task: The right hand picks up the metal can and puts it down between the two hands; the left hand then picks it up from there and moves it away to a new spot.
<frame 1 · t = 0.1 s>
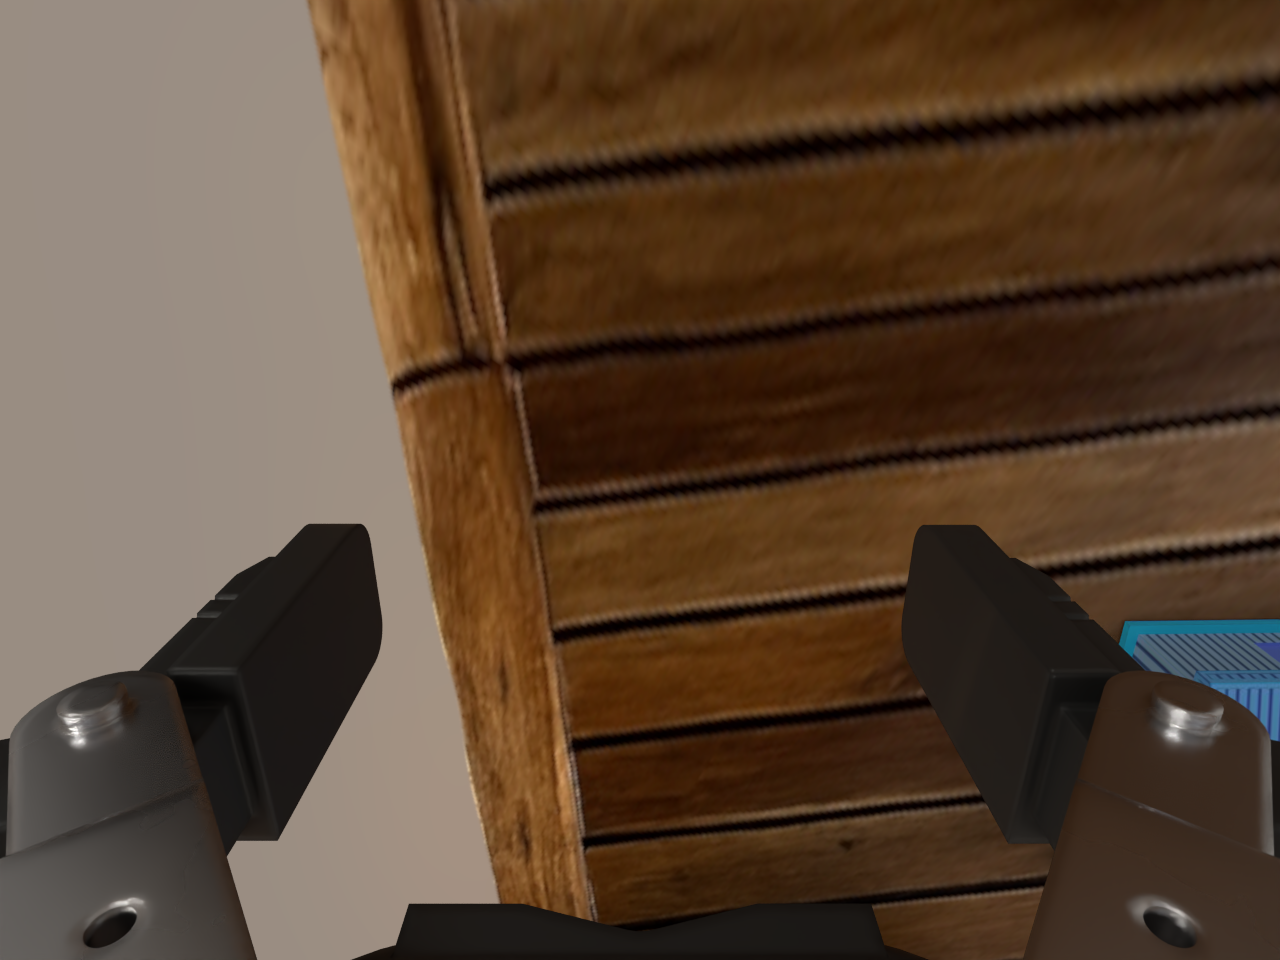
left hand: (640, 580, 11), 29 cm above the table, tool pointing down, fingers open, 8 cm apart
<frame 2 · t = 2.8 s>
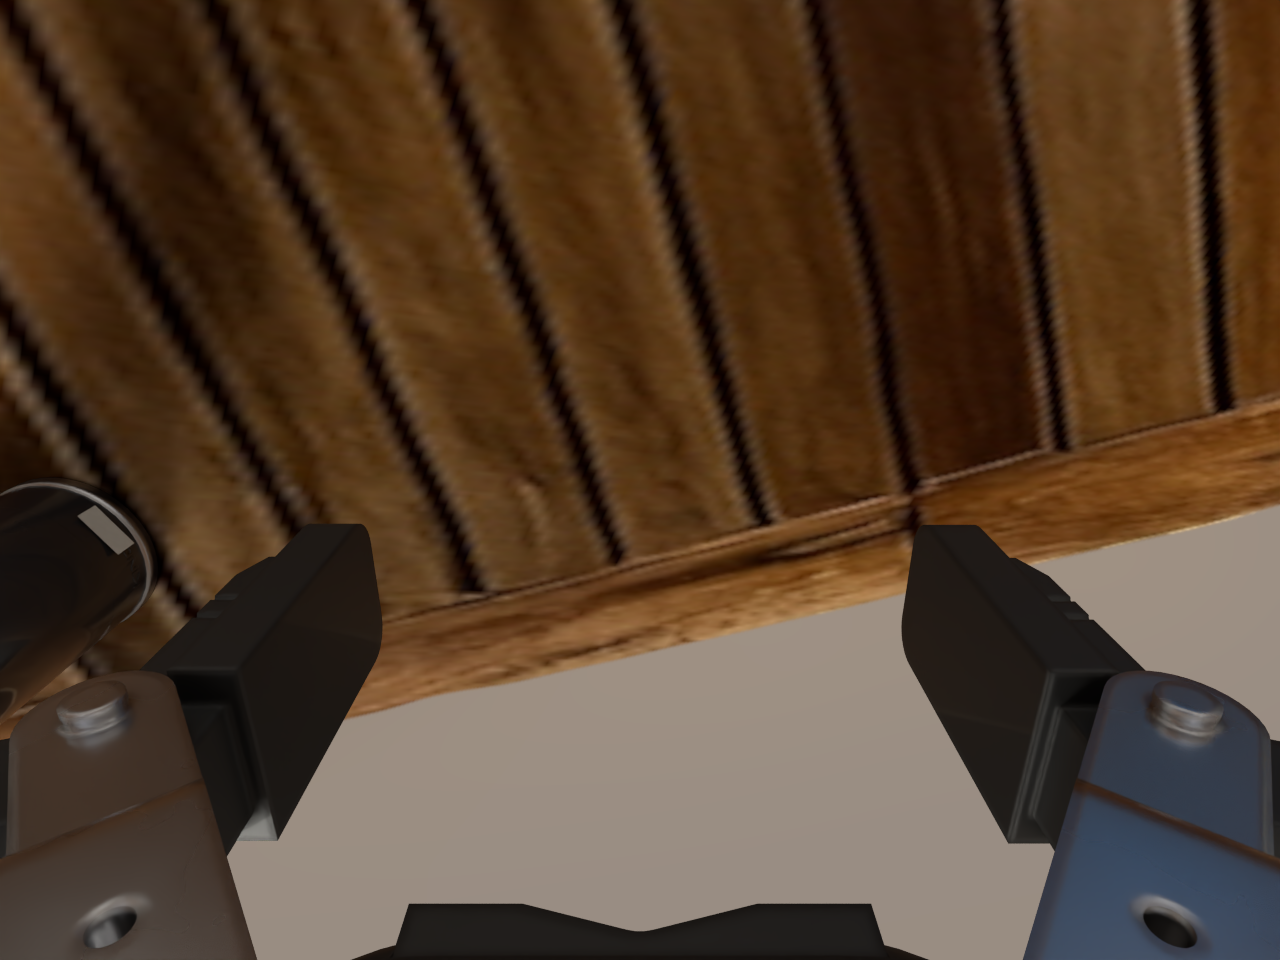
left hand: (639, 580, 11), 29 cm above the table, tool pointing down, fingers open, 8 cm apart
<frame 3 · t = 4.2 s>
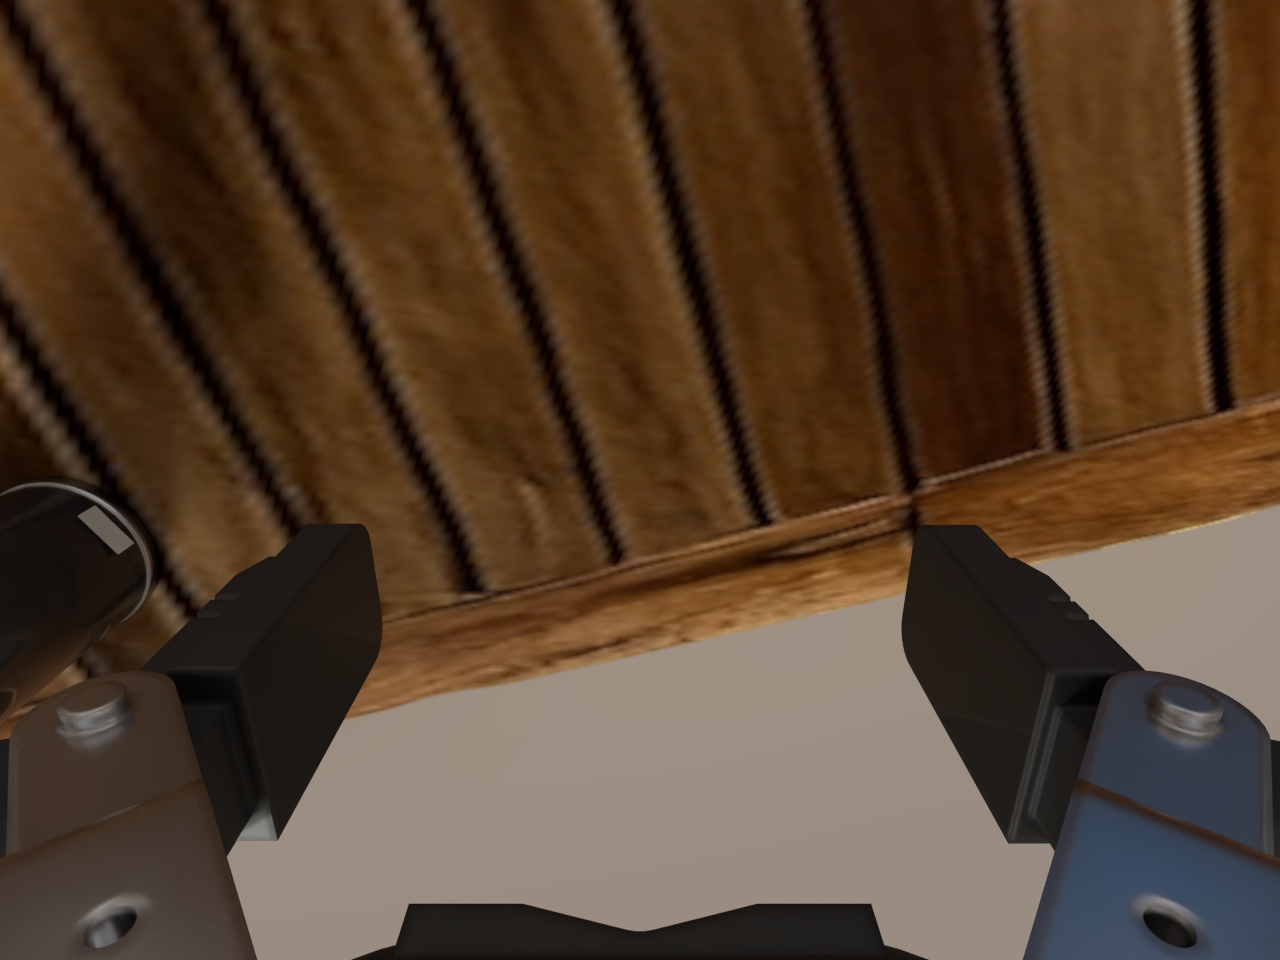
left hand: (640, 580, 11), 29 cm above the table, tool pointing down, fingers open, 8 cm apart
when the right hand's fingers open (8 cm above the table, at t = 5.7 s): can drops 2 cm, on the table.
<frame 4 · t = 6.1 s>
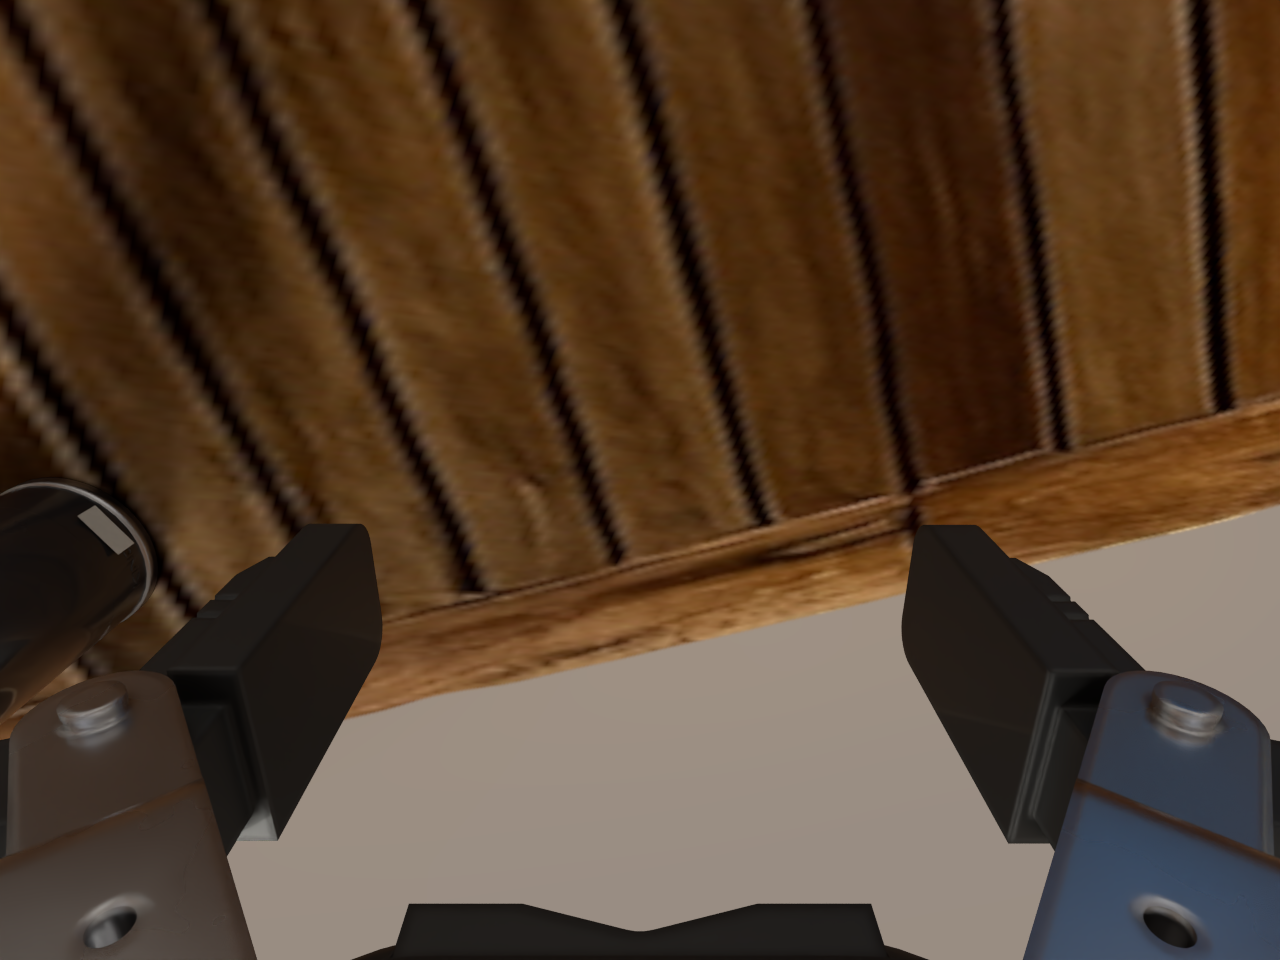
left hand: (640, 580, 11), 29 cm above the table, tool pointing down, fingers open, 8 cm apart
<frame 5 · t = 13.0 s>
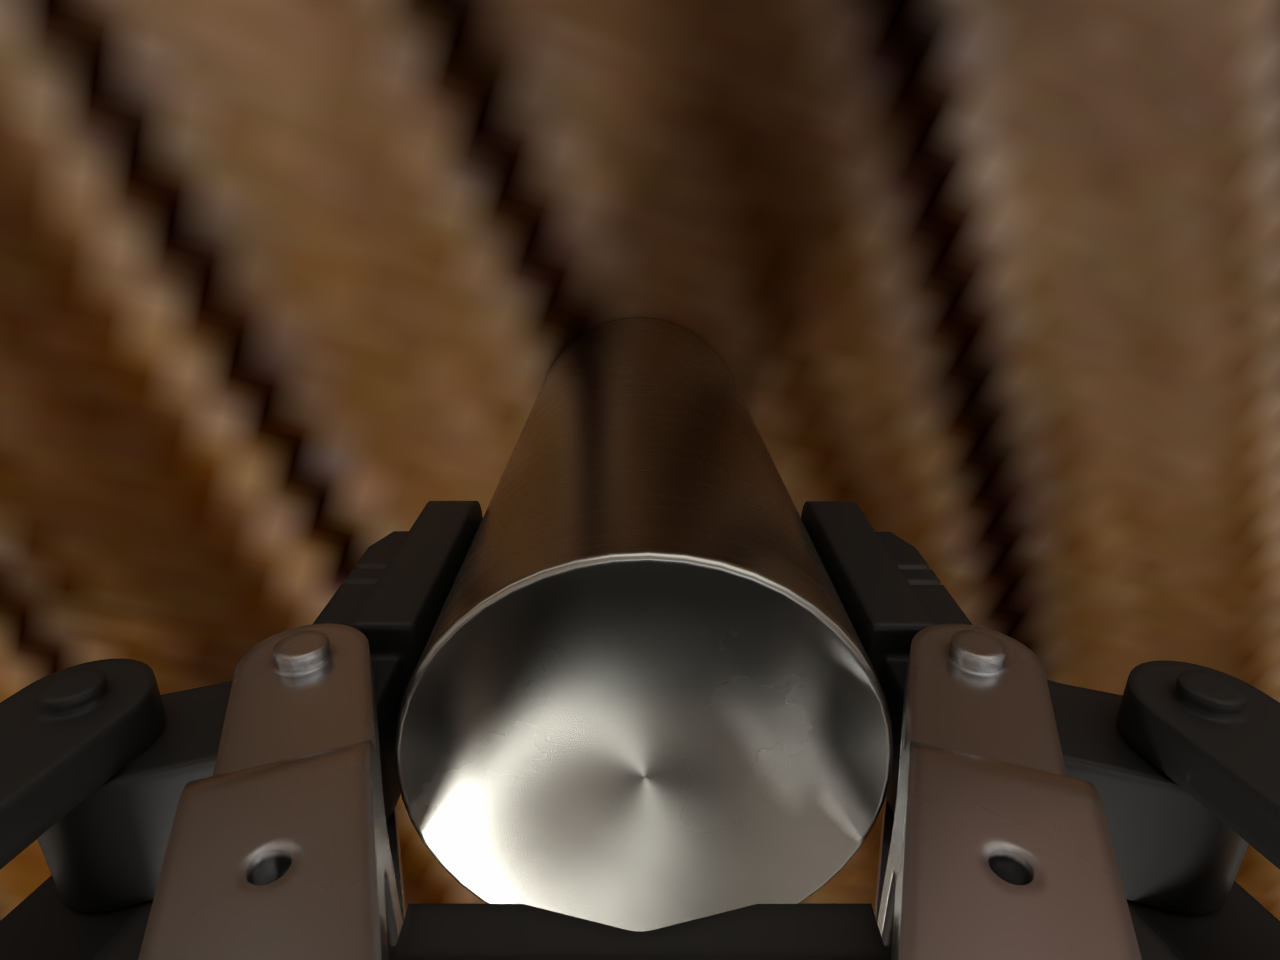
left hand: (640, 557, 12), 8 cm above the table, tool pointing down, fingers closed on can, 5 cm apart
can: (639, 417, 19), on the table, touching left hand
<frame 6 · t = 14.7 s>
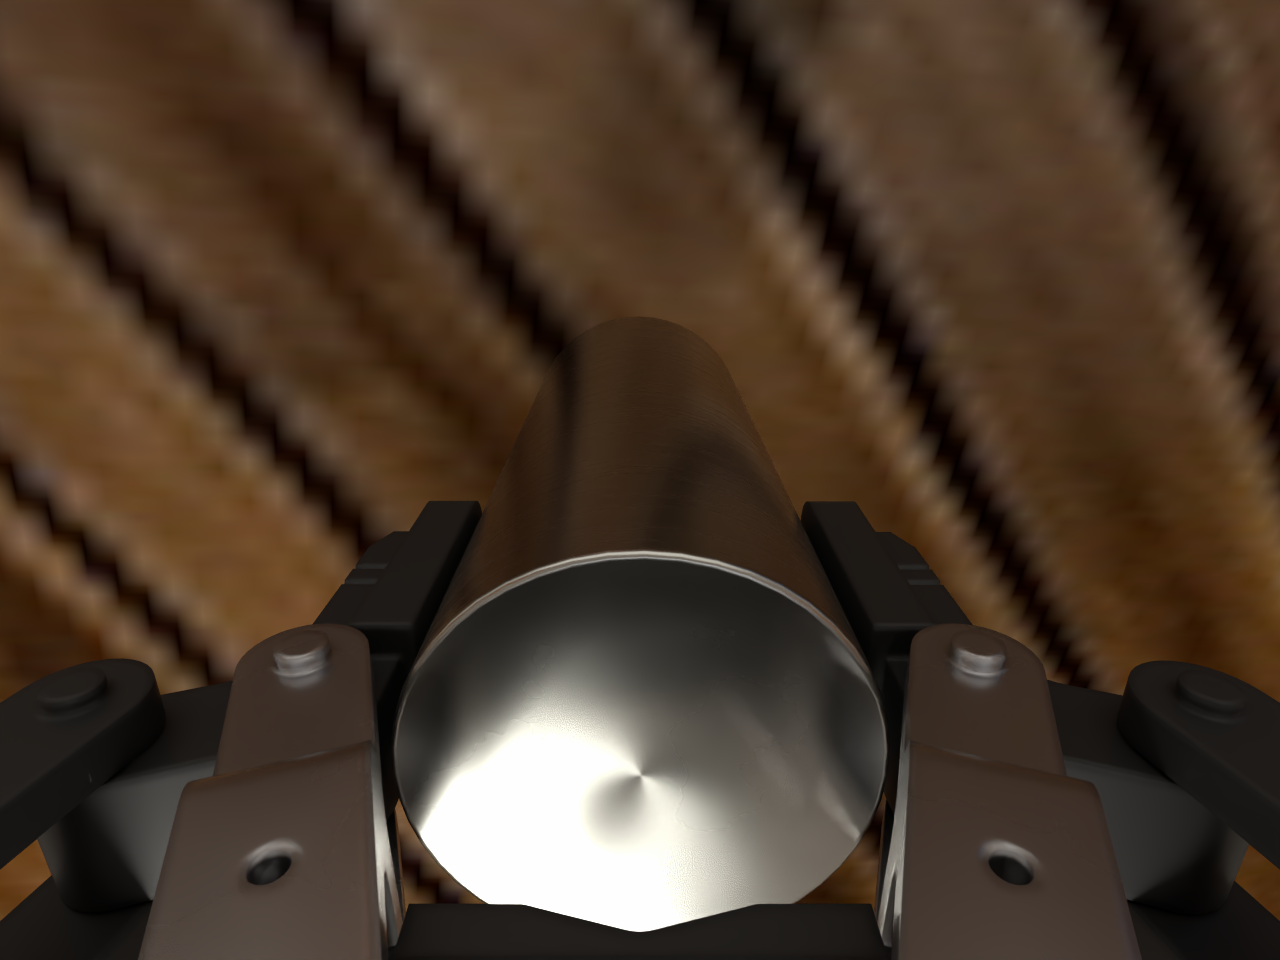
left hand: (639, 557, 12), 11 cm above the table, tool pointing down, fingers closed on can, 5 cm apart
can: (638, 416, 19), point 4 cm above the table, touching left hand
when the left hand's fingers open (9 cm above the table, at t = 16.4 s): can drops 2 cm, on the table.
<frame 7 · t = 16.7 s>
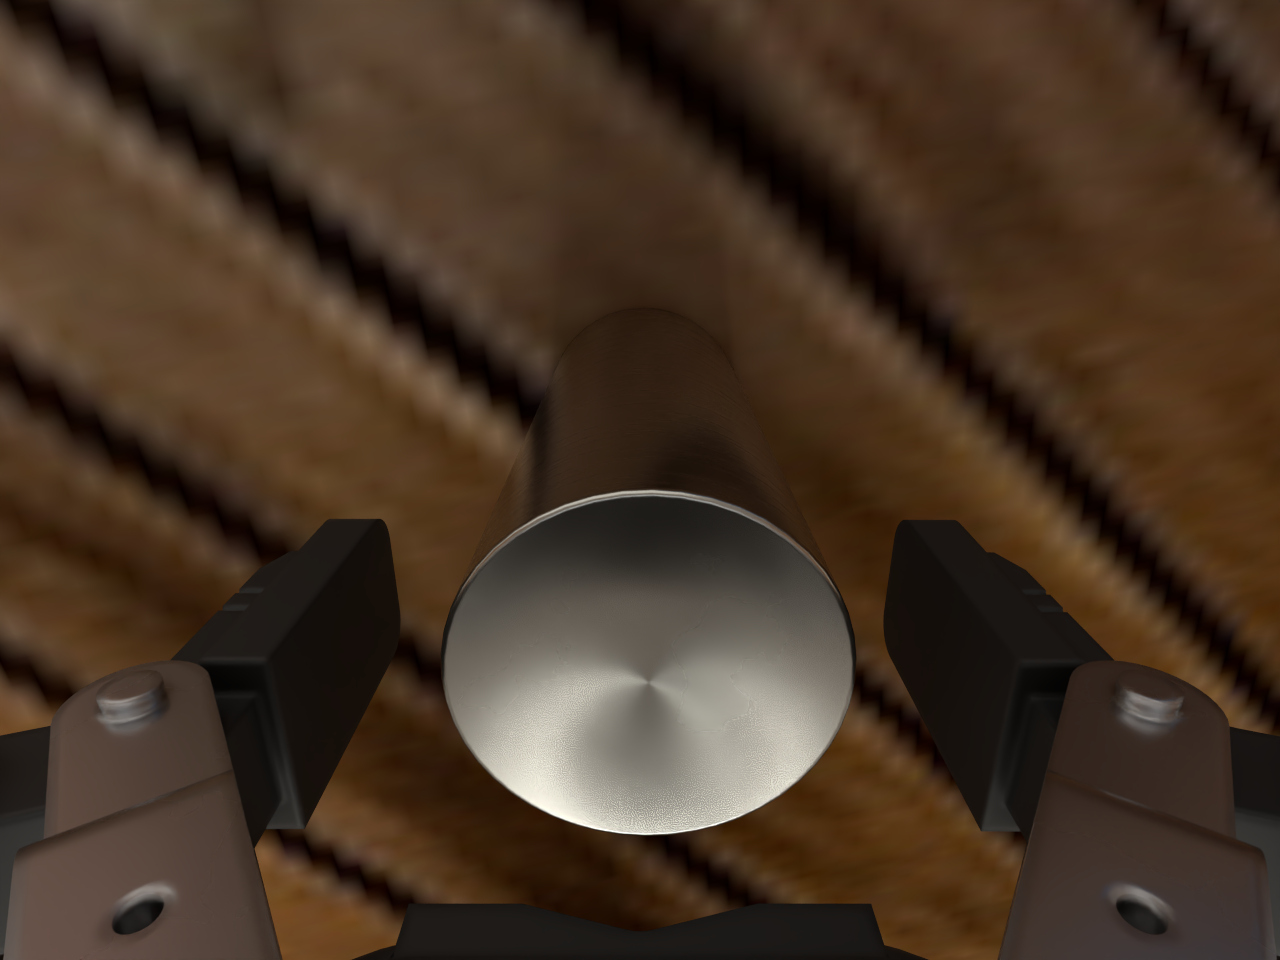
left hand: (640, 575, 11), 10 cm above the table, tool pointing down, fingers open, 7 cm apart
can: (643, 401, 20), on the table
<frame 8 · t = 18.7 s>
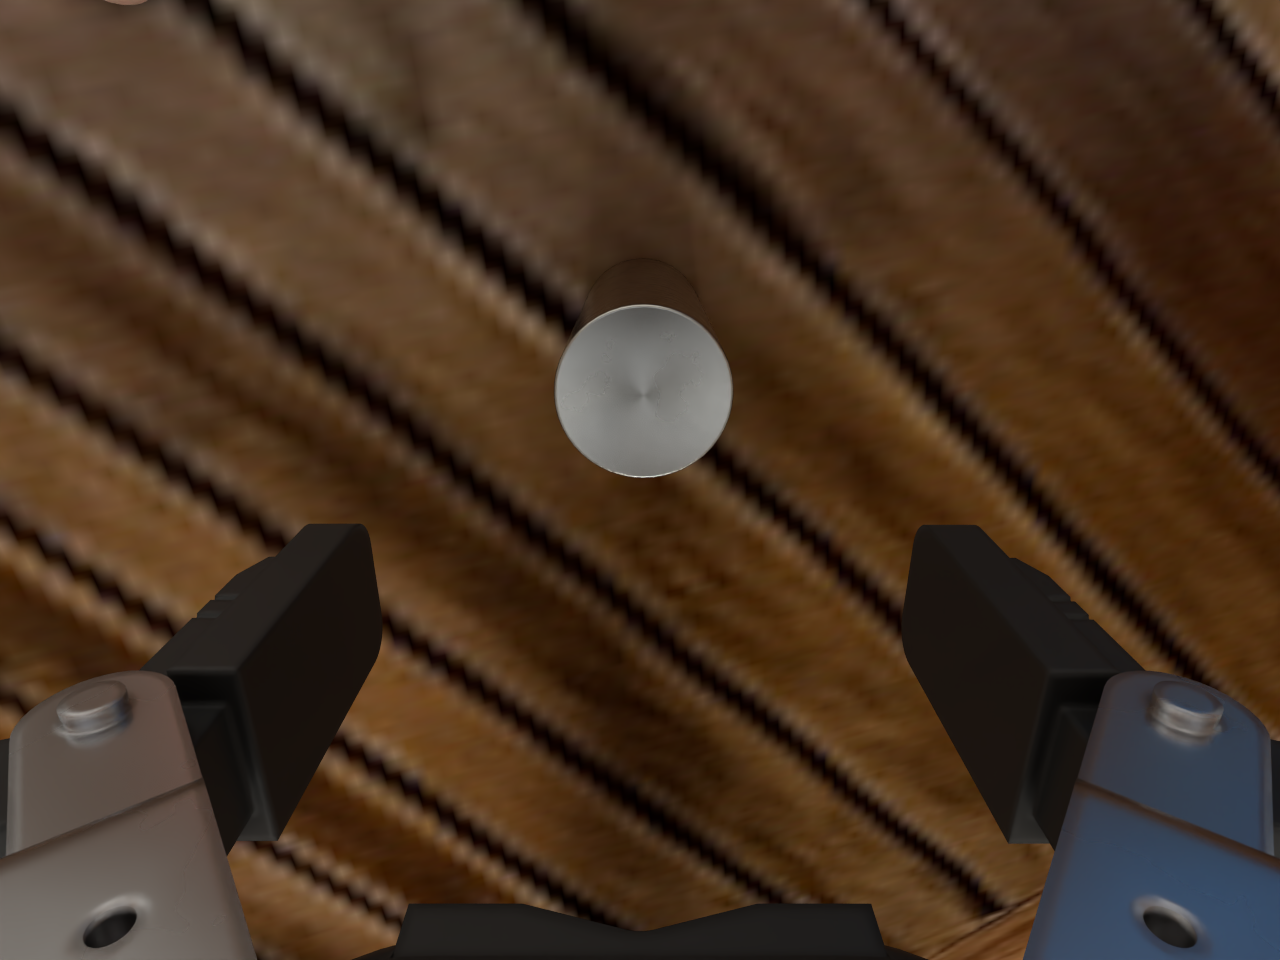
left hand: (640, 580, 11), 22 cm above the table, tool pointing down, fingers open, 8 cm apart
can: (642, 318, 32), on the table
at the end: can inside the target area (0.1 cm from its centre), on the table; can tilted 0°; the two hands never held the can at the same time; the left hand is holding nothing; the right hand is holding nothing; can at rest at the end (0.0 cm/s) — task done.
